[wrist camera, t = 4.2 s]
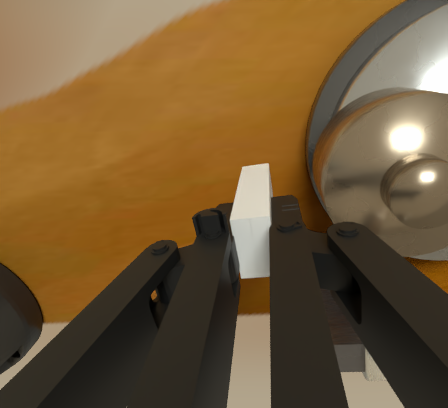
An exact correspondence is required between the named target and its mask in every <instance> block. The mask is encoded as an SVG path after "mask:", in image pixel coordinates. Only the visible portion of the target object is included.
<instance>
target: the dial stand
mask: <svg viewBox="0 0 448 408" xmlns="http://www.w3.org/2000/svg"><path fill="white" fill-rule="evenodd" d="M320 289H321V288H320ZM321 294H322V298H323V302H324V306H325V310H326V315H327V319H328V323H329V327H330V331H331V336H332V340H333V344H334V348H335V352H336V357H337V361H338V365H339V369H340V372H362V373H363V375H364V377H365V378H366V380H368V381H387V380H386V378H385V377H384V375H383V374H382V372H381V371H380V369H379V368H378V366H377V365H376V363H375V361H374V360H373V358H372V357H371V355H370V354H369V352H368V351H367V349H366V348H365V346H364V345H363V343H362V342H361V340H360V339H359V337H358V336H357V334H356V333H355V331H354V330H353V328H352V326H351V325H350V323H349V322H348V320H347V319H346V317H345V316H344V314H343V313H342V311H341V310H340V308H339V307H338V305H337V304H336V302H335V301H334V299H333V298H332V296H331V293H330V290H327V289H321Z"/></svg>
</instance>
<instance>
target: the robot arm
mask: <svg viewBox="0 0 448 408" xmlns="http://www.w3.org/2000/svg"><path fill="white" fill-rule="evenodd" d="M192 219H193V223H194V227H195V231H196V235H197V237H196V239H195V242H194V244H192V245H189V246H186V247H182V248H178V246H177V243H176V242H174V241H172V240H161V241H158V242H156V243H154V244H152V245H150V246H149V247H147V248H146V249H145V250H144V251H143V252H142V253H141V254H140V255H139V256H138V257H137V258H136V259H135V260H134V261H133V262H132V263H131V264H130V265H129V266H128V267H127V268H126V269H125V270H123V271H122V272H121V273H120V274H119V275H118V276H117V277H116V278H115V279H114V280H113V281H112V282H111V283H110V284H109V285H108V286H107V287H106V288H105V289H104V290H103V291H102V292H101V293H100V294H99V295H98V296H97V297H96V298H95V299H94V300H93V301H92V302H91V303H89V304H88V305H87V306H86V307H85V308H84V309H83V310H82V311H81V312H80V313H79V314H78V315H77V316H76V317H75V318H74V319H73V320H72V321H71V322H70V323H69V324H68V325H67V326H66V327H65V328H64V329H63V330H62V331H61V332H60V333H59V334H58V335H57V336H56V337H55V338H53V339H52V340H51V341H50V342H49V343H48V344H47V345H46V346H45V347H44V348H43V349H42V350H41V351H40V352H39V353H38V354H37V355H36V356H35V357H34V358H33V359H32V360H31V361H30V362H29V363H28V364H27V365H26V366H25V367H24V368H23V369H22V370H21V371H19V373H17V375H15V376H14V377H13V379H11V380H10V381H9V382H8V383H7V384H6V385H5V386H4V387H3V388H2V389H1V390H0V408H126V407H127V408H226V407H227V399H228V390H229V382H230V373H231V364H232V356H233V347H234V338H235V329H236V321H237V312H238V304H239V295H240V282H239V277H238V276H239V270H240V275H241V279H243V278H258V277H270V343H271V344H270V346H271V347H270V348H271V349H270V350H271V408H349V407H348V403H347V399H346V395H345V390H344V386H343V382H342V378H341V373H340V369H339V365H338V361H337V357H336V352H335V348H334V344H333V340H332V336H331V331H330V327H329V323H328V319H327V315H326V310H325V306H324V302H323V298H322V294H321V289H327V290H330V293H331V296H332V298H333V299H334V301H335V302H336V304H337V305H338V307H339V308H340V310H341V311H342V313H343V314H344V316H345V317H346V319H347V320H348V322H349V323H350V325H351V326H352V328H353V330H354V331H355V333H356V334H357V336H358V337H359V339H360V340H361V342H362V343H363V345H364V346H365V348H366V349H367V351H368V352H369V354H370V355H371V357H372V358H373V360H374V361H375V363H376V365H377V366H378V368H379V369H380V371H381V372H382V374H383V375H384V377H385V378H386V380H387V381H388V383H389V384H390V386H391V387H392V389H393V390H394V392H395V393H396V395H397V396H398V398H399V400H400V401H401V402H402V404H403V406H404V407H405V408H448V294H447V293H446V292H445V291H443V290H442V289H441V288H440V287H438V286H437V285H436V284H435V283H434V282H432V281H431V280H430V279H429V278H428V277H426V276H425V275H424V274H423V273H421V272H420V271H419V270H418V269H417V268H415V267H414V266H413V265H412V264H411V263H409V262H408V261H407V260H406V259H405V258H403V257H402V256H401V255H400V254H398V253H397V252H396V251H395V250H394V249H392V248H391V247H390V246H389V245H388V244H386V243H385V242H384V241H383V240H381V239H380V238H379V237H378V236H377V235H375V234H374V233H373V232H372V231H371V230H369V229H368V228H367V227H365V226H364V225H362V224H359V223H355V222H340V223H336V224H333V225H331V226H330V227H329V228H328V230H327V233H319V232H314V231H311V230H309V229H307V228H306V226H305V224H304V223H303V221H302V217H301V213H300V209H299V205H298V200H297V198H295V197H294V196H293V195H287V196H278V197H273V193H272V185H271V177H270V170H269V163H266V164H259V165H252V166H245V167H242V171H241V175H240V179H239V184H238V188H237V192H236V196H235V200H234V203H225V204H220V205H218V206H217V207H216V208H211V209H206V210H203V211H200V212H198V213H197V214H195V215H194V216H193V217H192ZM320 288H321V289H320ZM154 290H156V293H157V297H156V298H155V299H154V300H152V298H151V294H152V292H153V291H154ZM41 331H42V316H41V312H40V309H39V306H38V304H37V302H36V300H35V298H34V297H33V295H32V294H31V292H30V291H29V290H28V288H27V287H26V286H25V285H24V284H23V282H22V281H21V280H20V279H19V278H18V277H17V276H15V275H14V274H13V273H12V272H11V271H10V270H8V269H7V268H6V267H4V266H3V265H1V264H0V374H2V373H3V372H4V371H6V370H7V369H9V368H10V367H11V366H13V365H15V364H16V363H17V362H18V361H20V360H21V359H22V358H23V357H24V356H25V355H26V353H27V352H28V351H29V350H30V349H31V347H32V346H33V345H34V344H35V342H36V341H37V340H38V339H39V337H40V334H41ZM127 405H128V406H127Z"/></svg>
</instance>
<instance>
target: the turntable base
mask: <svg viewBox="0 0 448 408" xmlns="http://www.w3.org/2000/svg"><path fill="white" fill-rule="evenodd" d="M445 4H448V0H405V1H403V2H402V3H400V4H398V5H397V6H395V7H393V8H391V9H390V10H388V11H387V12H386V13H384V14H383V15H382V16H380V17H379V18H377V19H376V20H375V21H373V22H372V23H371V24H370V25H369V26H367V27H366V28H365V29H364V30H363V31H362V32H361V33H360V34H359V35H358V36H357V37H356V38H354V40H353V41H352V42H351V43H350V44H349V45H348V46H347V48H346V49H345V50H344V51H343V52H342V53H341V54H340V56H339V57H338V59H337V60H336V61H335V63H334V64H333V66H332V67H331V69H330V70H329V72H328V73H327V75H326V77H325V79H324V81H323V83H322V84H321V86H320V88H319V90H318V93H317V95H316V98H315V100H314V103H313V105H312V109H311V112H310V116H309V120H308V124H307V132H306V161H307V168H308V172H309V176H310V179H311V182H312V185H313V188H314V190H315V192H316V194H317V196H318V199H319V201H320V203H321V205H322V206H323V208H324V209H325V211H326V212H327V209H326V207H325V205H324V203H323V200H322V198H321V196H320V194H319V191H318V189H317V187H316V184H315V181H314V177H313V155H314V151H315V147H316V144H317V141H318V139H319V137H320V135H321V133H322V131H323V130H324V128H325V127H326V125H327V124H328V123H329V121H330V120H331V117H332V114H333V112H334V109H335V107H336V105H337V102H338V100H339V98H340V96H341V94H342V92H343V91H344V89H345V87H346V85H347V84H348V82H349V80H350V79H351V78H352V76H353V75H354V74H355V72H356V71H357V70H358V68H359V67H360V65H361V64H362V63H363V62H364V61H365V60H366V59H367V58H368V57H369V56H370V54H371V53H372V52H373V51H374V50H375V49H376V48H377V47H378V46H380V45H381V44H382V43H383V42H384V41H385V40H386V39H388V38H389V37H390V36H391V35H392V34H394V33H395V32H396V31H398V30H399V29H401V28H402V27H404V26H405V25H406V24H408V23H409V22H411V21H413V20H414V19H416V18H418V17H420V16H422V15H423V14H425V13H427V12H429V11H431V10H433V9H436V8H438V7H441V6H443V5H445ZM327 214H328V212H327ZM328 215H329V214H328ZM329 217H330V216H329Z"/></svg>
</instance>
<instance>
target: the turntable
mask: <svg viewBox="0 0 448 408" xmlns="http://www.w3.org/2000/svg"><path fill="white" fill-rule="evenodd" d="M393 87H407V88H414V89H421V90H428V91H435V92H442V93H448V4H445V5H443V6H441V7H438V8H436V9H433V10H431V11H429V12H427V13H425V14H423V15H422V16H420V17H418V18H416V19H414V20H413V21H411V22H409V23H408V24H406V25H405V26H404V27H402V28H401V29H399V30H398V31H396V32H395V33H394V34H392V35H391V36H390V37H389V38H388V39H386V40H385V41H384V42H383V43H382V44H381V45H380V46H378V47H377V48H376V49H375V50H374V51H373V52H372V53H371V54H370V56H369V57H368V58H367V59H366V60H365V61H364V62H363V63H362V64H361V65H360V67H359V68H358V70H357V71H356V72H355V74H354V75H353V76H352V78H351V79H350V80H349V82H348V84H347V85H346V87H345V89H344V91H343V92H342V94H341V96H340V98H339V100H338V102H337V105H336V107H335V109H334V112H333V114H332V117H331V119H332V118H333V117H334V116H335V115H336V114H337V113H338V112H339V111H340V110H341V109H342V108H344V107H345V106H346V105H347V104H349V103H350V102H352V101H354V100H355V99H357V98H359V97H361V96H363V95H365V94H368V93H371V92H373V91H377V90H381V89H385V88H393ZM410 257H412V258H417V259H425V260H448V247H446V248H444V249H441V250H438V251H435V252H432V253H428V254H424V255H418V256H410Z"/></svg>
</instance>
